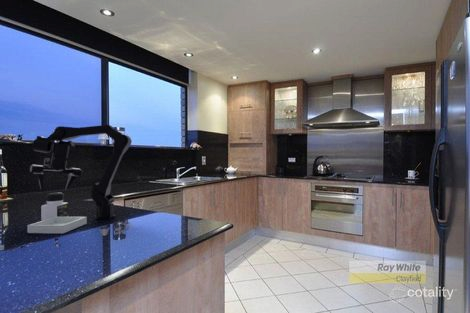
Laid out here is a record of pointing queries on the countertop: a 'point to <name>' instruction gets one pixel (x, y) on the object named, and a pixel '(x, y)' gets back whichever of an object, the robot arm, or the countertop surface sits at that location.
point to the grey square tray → (57, 225)
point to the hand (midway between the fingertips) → (54, 189)
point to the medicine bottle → (54, 207)
